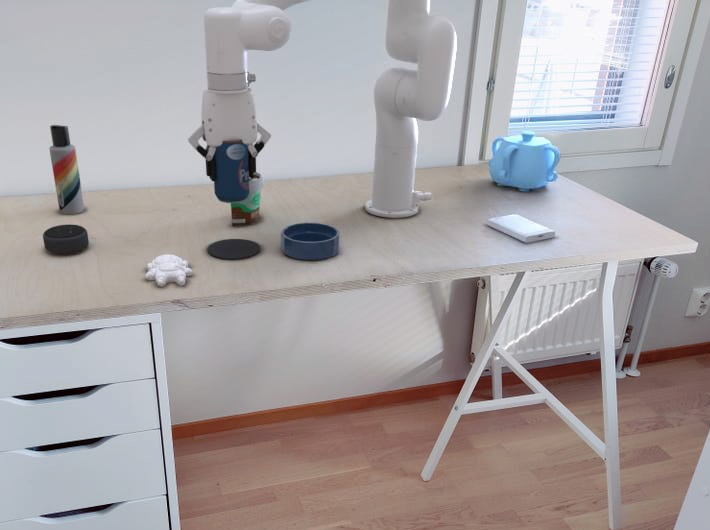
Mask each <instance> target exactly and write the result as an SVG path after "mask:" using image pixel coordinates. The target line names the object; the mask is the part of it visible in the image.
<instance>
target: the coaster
mask: <svg viewBox="0 0 710 530" xmlns="http://www.w3.org/2000/svg"><path fill="white" fill-rule="evenodd" d="M206 251H207V255H209V256H211V257H213V258H216V259H219V260H225V261H241V260H247V259H250V258H254V257H255V256H257V255H258V254H259V253H260V252H261V246H260V244H259V243H257V242H256V241H253V240H249V239H244V238H227V239H221V240H217V241H215V242H212V243H211V244H209V245H208V246H207V249H206Z"/></svg>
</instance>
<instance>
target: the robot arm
mask: <svg viewBox="0 0 710 530" xmlns="http://www.w3.org/2000/svg"><path fill="white" fill-rule="evenodd" d="M309 1H310V0H235V1H234V2H233V4H232V5H231V6H220V7H219V6H218V7H210V8H208V9H206V11H204V16H203V26H204V27H203V28H204V44H205V45H204V46H205V62H206V64H205V65H206V81H207V83H206V84H207V88H204V89H203V90H202V98H201V124H200V126H199V127H198V128H197V129H196V130H195V131H194V132H193V133H192V134H191V135H190V136H189V137H188V139H187V142H188V144H190V146H192V147H193V148H194V150H196V152H197V153H198V154H200V155H201V156H202V158H204V159H205V174H206V176H207V177H209V179H210V181H211V182H214V181H216V169H215V161H214V160H213V156H214V153H215V151H216V148H217V147H218V146H221V144H222V141H238V140H243V141H242V142H243V143H244V144H246V145H247V146H248V157H249V177H250V178H254V172H257V157H258V156H259V153H261V151H262V150H263V149H264V148H265V145H267V143H269V141H270V139H271V138H272V135H271V134H272V133H270V132H269V131H267V130H266V129H265V128H264V127H263V126H261V125H260V124H259V123H258V122H257V113H256V104H255V100H254V95H253V90H252V89H251V88H250V84H252V83H253V82H254V83H256V80H257V77H256V74H255V73H254V74H253V73H249V63H248V59H249V58H248V51H253V50H254V51H262V52H263V51H264V52H274V51H277V50H279V49H281V48H283V47H284V46H285V45H286V44H287V43H288V41H289V40H290V37H291V35H292V23H291V20H290V17H289V16H288V14H287V13H286V12H285V10H287V9H288V8H290V7H293V6H295V5H299V4H302V3H306V2H309ZM387 7H388V8H387V19H386V27H385V28H386V31H385V51H386V53H387V54H388V56H389V57H390V58H391V59H394V60H396V61H399V62H405V63H410V64H416V65H417V69H412V68H406V67H391V68H388V69H386V70H384V71H383V72H382V73H380V75H379V76H378V77H377V79H376V81H375V84H374V88H373V100H374V101H373V103H374V109H375V116H376V117H375V119H376V121H375V125H376V126H375V127H376V128H375V129H376V131H375V144H374V145H375V146H374V159H373V160H374V161H373V177H372V178H373V179H372V193H371V194H372V196H371V199H369V200H368V201H366V202H365V204H364V209H365V211H366V212H367V213H369V214H370V215H373V216H377V217H380V218H388V219H389V218H390V219H391V218H392V219H399V218H400V219H401V218H408V217H412V216H414V215H416V214H417V213H418V212H419V205H418V203H420V202H427V201H432V198H433V195H432V192H430V191H427V192H422V190H415V189H414V188H415V176H416V165H417V154H418V145H419V128H418V123H417V120H418V121H424V122H431V121H434V120H437V119H439V118H440V117H441V116H442V115H443V113H445V111H446V109H447V106H448V104H449V100H450V95H451V91H452V85H453V76H454V70H455V63H456V62H455V61H456V53H457V46H458V45H457V44H458V43H457V33H456V29H455V27H454V24H453V23H452V21H450V20H449V19H448V18H447V17H445V16H442V15H438V14H431V13H430V8H431V0H388V6H387ZM258 134H259V135H260V137H259V139H258V140H257V138H258ZM201 138H202V140H203V142H206V146H205V148H204V146H202V145H201V144H200V143H199V140H200V139H201Z"/></svg>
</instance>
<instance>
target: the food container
mask: <svg viewBox="0 0 710 530" xmlns="http://www.w3.org/2000/svg"><path fill="white" fill-rule="evenodd" d="M263 187H265V185H264V180H263V177H262V175H261V173H259V172H257V171H256V172H254V178H250V177H249V191H250V192H249V195H248V197H247V199H246V200H245V201H243V202H239V203H230V211H231V213H230V215H231V223H232V224H231V226H232V227H246V226H252V225H254V224H256V223H258V222H259V221H260V213H261V212H260V210H261V190H262V189H263Z"/></svg>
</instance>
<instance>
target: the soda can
mask: <svg viewBox="0 0 710 530" xmlns="http://www.w3.org/2000/svg"><path fill="white" fill-rule="evenodd" d="M242 141H243V140H238V141H222V144H221V146H218V147H217V148H216V151H215V153H214V156H213V160H214V161H215V169H216V181H213V184H214V185H213V187H214V189H213V190H214V195H215V196H216V198H217V200H218V201H219V202H221V203H224V204H231V203H239V202H243V201H245V200H246V199H247V197H248V195H249V192H250V191H249V157H248V146H247V145H246V144H244V143H243V142H242Z"/></svg>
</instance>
